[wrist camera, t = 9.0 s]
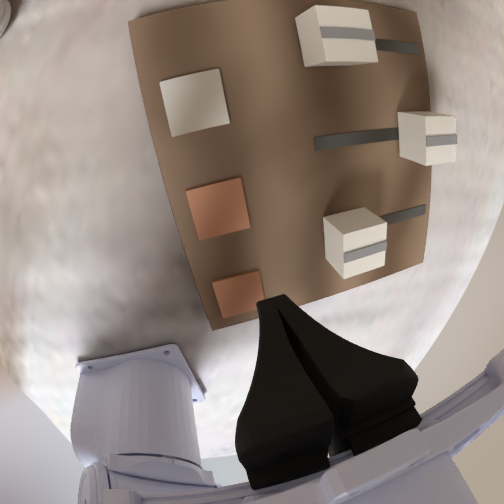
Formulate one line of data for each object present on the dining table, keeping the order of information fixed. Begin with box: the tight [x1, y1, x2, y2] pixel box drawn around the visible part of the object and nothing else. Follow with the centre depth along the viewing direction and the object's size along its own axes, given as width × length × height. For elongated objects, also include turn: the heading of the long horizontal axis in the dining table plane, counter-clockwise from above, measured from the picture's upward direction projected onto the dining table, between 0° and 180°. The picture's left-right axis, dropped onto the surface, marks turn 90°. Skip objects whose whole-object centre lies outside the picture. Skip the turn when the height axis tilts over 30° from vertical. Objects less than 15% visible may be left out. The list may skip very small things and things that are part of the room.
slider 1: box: [295, 5, 378, 67], centre depth 11 cm, size 3×3×3 cm
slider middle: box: [397, 111, 457, 166], centre depth 15 cm, size 3×3×3 cm
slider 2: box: [323, 207, 387, 279], centre depth 17 cm, size 3×3×3 cm
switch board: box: [128, 0, 432, 331], centre depth 17 cm, size 18×20×1 cm
